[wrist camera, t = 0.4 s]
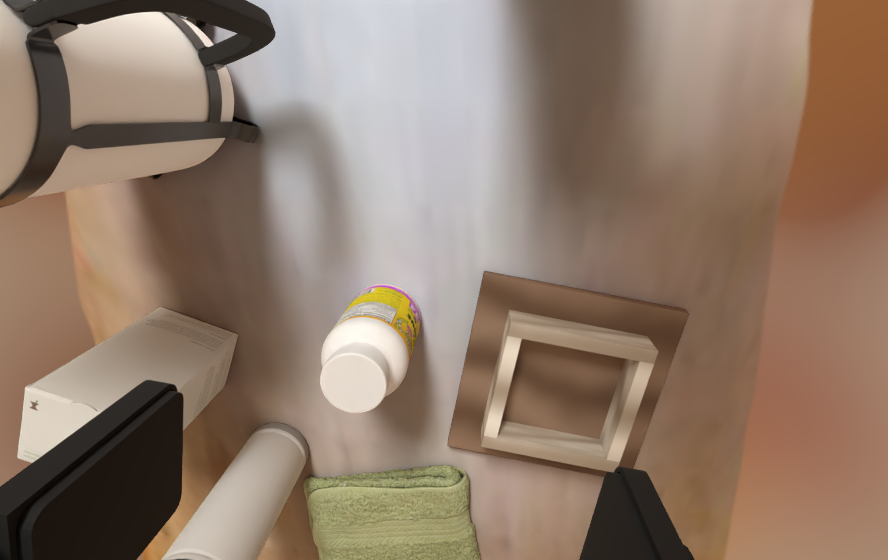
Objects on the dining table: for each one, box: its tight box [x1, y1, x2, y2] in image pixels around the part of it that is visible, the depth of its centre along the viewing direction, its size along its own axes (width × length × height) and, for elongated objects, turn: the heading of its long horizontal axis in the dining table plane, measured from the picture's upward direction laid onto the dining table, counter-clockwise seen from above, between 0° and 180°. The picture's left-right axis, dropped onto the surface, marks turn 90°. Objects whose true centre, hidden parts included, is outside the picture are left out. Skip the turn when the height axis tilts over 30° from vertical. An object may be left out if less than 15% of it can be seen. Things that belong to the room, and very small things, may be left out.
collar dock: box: [448, 271, 689, 477], centre depth 46 cm, size 18×18×4 cm
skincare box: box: [17, 307, 238, 463], centre depth 42 cm, size 8×7×16 cm
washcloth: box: [303, 465, 480, 560], centre depth 53 cm, size 13×18×3 cm
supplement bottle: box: [320, 284, 421, 413], centre depth 41 cm, size 7×7×13 cm
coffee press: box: [0, 0, 275, 208], centre depth 27 cm, size 17×16×30 cm
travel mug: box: [161, 423, 309, 560], centre depth 43 cm, size 6×7×20 cm
